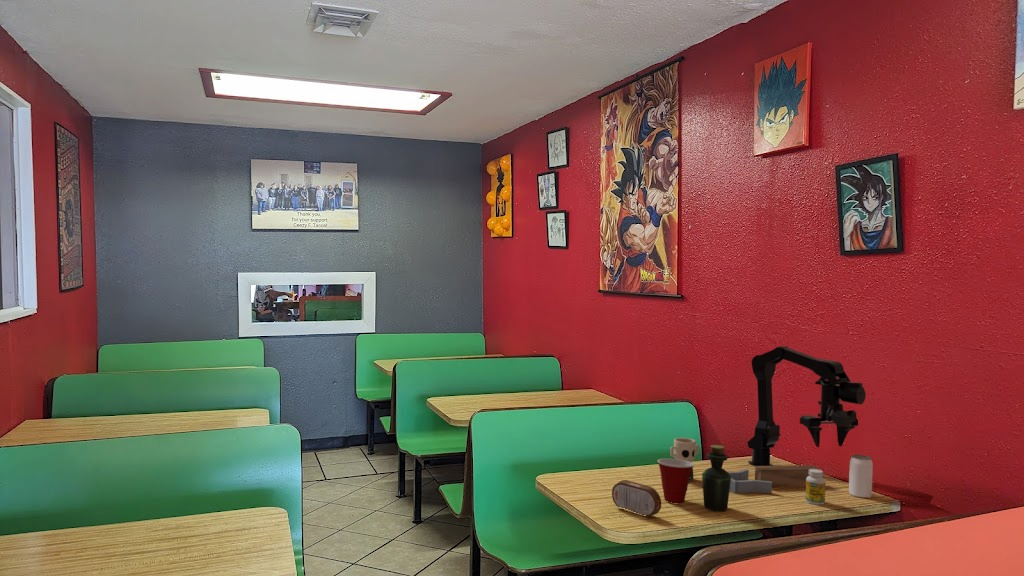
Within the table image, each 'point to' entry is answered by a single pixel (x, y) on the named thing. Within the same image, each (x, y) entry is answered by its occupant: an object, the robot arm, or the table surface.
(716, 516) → the table surface
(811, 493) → the supplement bottle
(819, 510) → the table surface
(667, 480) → the plastic cup
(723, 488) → the potion bottle
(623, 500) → the tin
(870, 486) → the can
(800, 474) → the walnut slat
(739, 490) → the grey stepped block
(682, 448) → the character mug
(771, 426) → the robot arm
